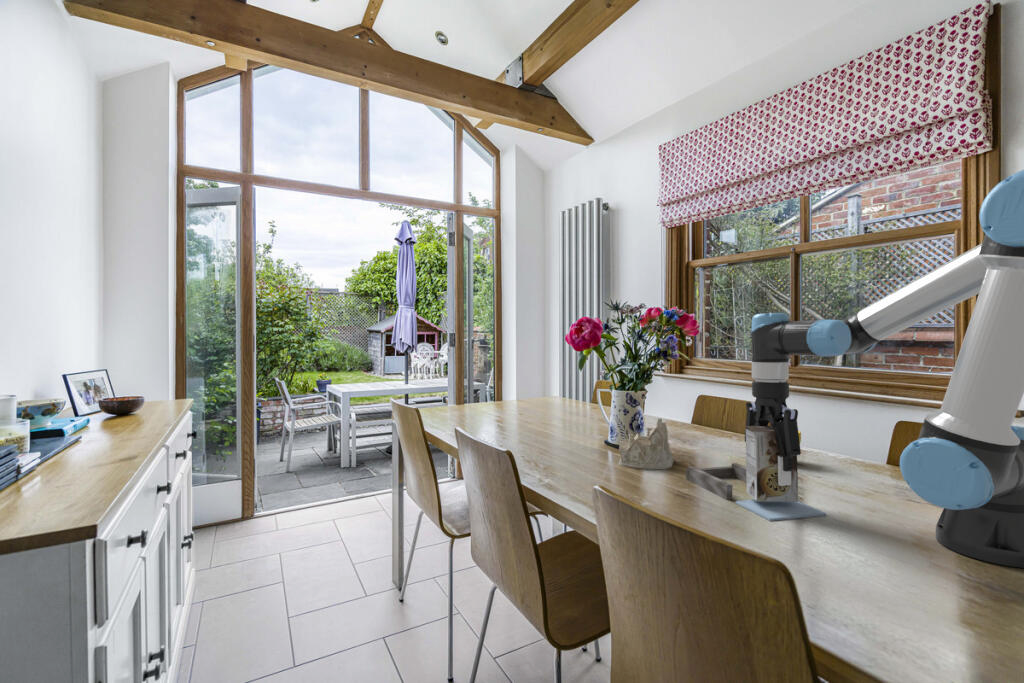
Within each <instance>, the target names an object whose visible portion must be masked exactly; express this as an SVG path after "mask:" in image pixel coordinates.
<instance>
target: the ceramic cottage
mask: <svg viewBox="0 0 1024 683" xmlns="http://www.w3.org/2000/svg"><path fill="white" fill-rule="evenodd" d="M668 431H669V430H668V427H667V422H666V421H663V419H662V417H658V418H657V421H656V424H655V426H654V427H646V432H647V433H646V436H644V435H640V434H639V433H636V435H635V436H634V434H633V433H629V434H628V439H627V438H620V441H619V446H618V451H619V452H618V453H620V459H619V461H618V465H619V466H625V467H627V468H628V467H629V468H630V467H631V468H634V469H645V470H647V469H648V470H666V469H669V468H672V467H673V465H674V458H673V457H674V454H673V453H672V452H671V444H670V442H669V432H668Z"/></svg>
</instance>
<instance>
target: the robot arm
mask: <svg viewBox="0 0 1024 683" xmlns="http://www.w3.org/2000/svg"><path fill="white" fill-rule="evenodd" d="M978 218H979V223H980V226H981V229H982V232H984V236H983V240H982V242H981V243H980V244H978V245H976V246H975V247H973V248H970V249H969V250H967V251H965V252H963V253H961V254H960V255H958V256H956V257H955V258H953V259H951V260H949V261H947V262H946V263H944V264H942V265H940V266H938V267H936V268H934V269H933V270H930V271H929V272H927V273H925V274H924V275H922V276H920V277H918V278H917V279H914V280H912V281H911V282H909V283H908V284H906V285H904V286H901V287H900V288H898V289H896V290H893V292H891V293H889V294H888V295H885V296H884V297H882V298H880V299H878V300H876V301H875V302H872V303H871V304H869V305H868V306H865V307H863V308H862V309H860V310H858V311H857V312H855V313H853V314H851V315H850V316H848V317H845V318H844V319H841V320H840V319H830V318H829V319H828V318H827V319H825V318H824V319H823V318H821V319H813V320H811V319H810V320H796V321H795V320H792V321H791V320H790V319H789V315H788V314H787V313H786V312H769V313H767V312H766V313H757V314H754V315H753V316H752V319H751V331H750V336H751V355H752V356H751V357H752V358H751V379H753V381H752V382H751V394H752V395H751V396H752V397H754V398H755V401H752V402H747V401H746V403H745V408H746V420H745V426H773V428H774V431H775V434H776V439H777V442H778V446H779V449H780V453H781V454H779V455H778V485H780V486H786V485H791V471H792V469H793V467H792V466H793V465H792V464H793V456H796V455H797V456H800V455H801V454H802V453H801V452H802V450H801V443H800V442H799V434H798V431H799V429H798V428H799V427H798V416H799V411H798V409H796V408H793V409H791V408H789V407H788V405H787V403H786V402H787V401H786V400H787V399H788V398H789V397H790V383H789V382H788V381H786V380H789V378H790V377H789V376H790V374H789V372H790V371H789V370H790V368H789V367H790V366H789V362H790V361H789V360H790V359H789V357H790V356H809V357H810V356H811V357H812V356H813V357H815V356H816V357H823V358H825V357H840V356H843V355H859V354H863V353H868V352H869V351H871V350H873V349H874V348H875V347H876V346H877V343H879V342H881V341H883V340H885V339H887V338H889V337H891V336H894V335H896V334H897V333H899V332H902V331H904V330H906V329H907V328H910V327H912V326H914V325H916V324H919V323H921V322H922V321H924V320H928V319H929V318H931V317H933V316H936V315H937V314H939V313H941V312H944V311H946V310H947V309H949V308H952V307H954V306H956V305H958V304H960V303H962V302H964V301H967V300H968V299H971V298H972V297H975V296H977V295H978V296H977V298H976V302H975V304H974V307H973V311H972V314H971V317H970V319H969V322H968V325H967V328H966V332H965V335H964V338H963V341H962V343H961V346H960V350H959V352H958V356H957V357H956V361H955V364H954V367H953V370H952V373H951V377H950V379H949V382H948V385H947V388H946V392H945V394H944V397H943V400H942V404H941V407H940V408H939V409H938V410H936V411H933V412H931V413H930V412H929V413H928V414H926V415H925V418H924V421H923V423H922V426H921V428H920V432H919V435H918V438H917V439H916V440H914V441H912V442H910V443H909V444H908V445H907V446H906V447H905V448H904V449H903V451H902V453H901V454H900V457H899V470H900V472H901V476H902V478H903V480H904V481H905V482H906V484H907V485H908V487H909V488H910V489H911V491H913V493H914V494H916V495H917V496H918V497H919V498H921V499H922V500H924V501H925V502H927V503H929V504H932V505H933V506H936V507H939V508H942V511H941V513H940V516H939V518H938V521H937V523H936V524H935V539H936V541H937V542H938V543H939V544H940V545H942V546H944V547H945V548H947V549H950V550H952V551H953V552H956V553H958V554H961V555H964V556H967V557H969V558H973V559H977V560H979V561H983V562H987V563H992V564H996V565H1001V566H1005V567H1006V566H1008V567H1013V568H1021V569H1024V426H1019V425H1013V422H1014V420H1015V418H1016V414H1017V412H1018V409H1019V407H1020V405H1021V401H1022V399H1023V396H1024V169H1021V170H1020V171H1017V172H1015V173H1013V174H1011V175H1009V176H1007V177H1006V178H1005V179H1003V180H1002V181H999V182H998V183H997V184H996V185H994V187H993V188H992V189H990V191H989V192H988V194H987V195H986V196H985V198H984V200H983V201H982V204H981V206H980V209H979V215H978ZM744 442H745V443H746V428H745V431H744ZM786 449H787V451H786ZM793 449H794V450H793Z"/></svg>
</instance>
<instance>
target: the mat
mask: <svg viewBox="0 0 1024 683" xmlns="http://www.w3.org/2000/svg"><path fill="white" fill-rule="evenodd" d="M735 504H736V505H739V506H740V507H742V508H744V509H746V510H747V511H749V512H752V513H753V514H755V515H756V516H757V515H758V516H759V517H762V519H763V518H764V519H765V520H767V521H768V522H773V521H782V520H783V521H784V520H793V519H801V518H802V519H803V518H813V517H823V516H827V513H826V512H825V511H823V510H820V509H818V508H816V507H813V506H811V505H809V504H806V503H803V502H801V501H799V500H798V502H758V501H756V500H755V499H746V500H736V501H735Z"/></svg>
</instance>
